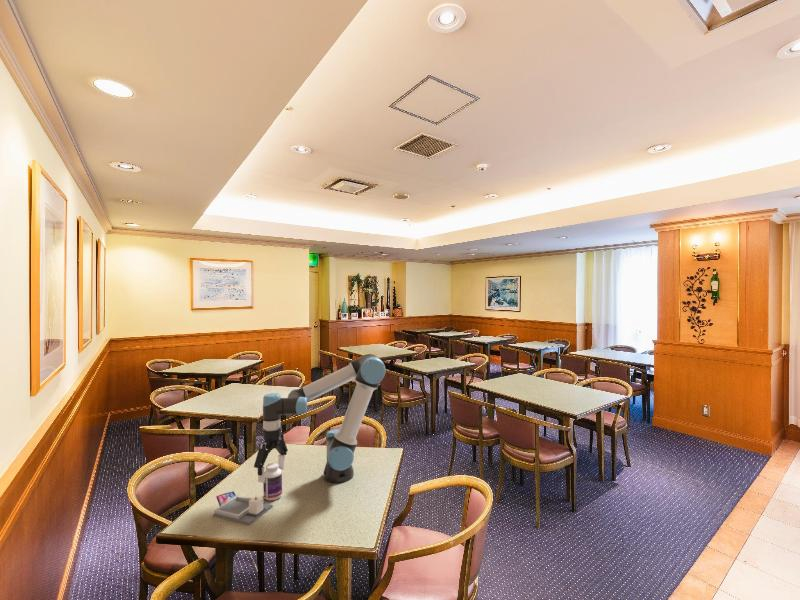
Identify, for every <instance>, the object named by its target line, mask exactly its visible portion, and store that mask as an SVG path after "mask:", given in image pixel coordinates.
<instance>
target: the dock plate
mask: <svg viewBox="0 0 800 600" xmlns="http://www.w3.org/2000/svg"><path fill="white" fill-rule="evenodd" d="M273 507H274V505H273V504H270V503H266V502H264V497H261V496H258V495H256V496H254V497H252V498H251V497H247V496H243V495H236V496H235V497H234V498H232V499H231V500H229V501H228V502H226V503H225V504H223V505H221V506H220V505H219V506H218V507H217V508H216V509H214V510H213V514H212V516H213V517H215V518H218V519H223V520H227V521H230V522H235V523H238V524H239V523H240V524H243V525H247V526H250V525H252V524H253V523H254V522H256V521H257V520H258V519H260V518H261V517H262V516H263V515H264V514H266V513H267V512H268V511H270V510H271V509H273Z"/></svg>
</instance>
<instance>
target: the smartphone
mask: <svg viewBox="0 0 800 600" xmlns="http://www.w3.org/2000/svg"><path fill="white" fill-rule="evenodd" d="M235 496H237V495H236V493H235V491H228V492H225V493H221V494H218V495H216V500H217V502H218V505H219V507H220V506H221V505H223V504H225V503H226V502H228V501H229V500H231V499H232V498H234V497H235Z"/></svg>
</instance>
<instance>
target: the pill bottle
mask: <svg viewBox="0 0 800 600" xmlns="http://www.w3.org/2000/svg"><path fill="white" fill-rule="evenodd" d="M282 474H283V472H282V469H279V465H278V462H277V463H276V462H272V463H268V464H266V465H265V470H264V482H263V487H262V488H263V500H266V501H276V500H278V499H280V498H281V497H282V495H283V477H282V476H283V475H282Z"/></svg>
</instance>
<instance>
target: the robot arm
mask: <svg viewBox="0 0 800 600" xmlns="http://www.w3.org/2000/svg"><path fill="white" fill-rule="evenodd" d="M386 370H387V369H386V365H385V363H384V362H383V360H382V359H380V358H379V357H378V356H377V355H376V354H372V353H367V354H364V355H362V356H360V357H358V358H356V359H354V360H353V361H350V362H349V364H348V365H346V366H344V367H342V368H340V369H338V370H336V371H334V372H333V371H332V373H329V374H327V375H326V376H323V377H321V378H319V379H317V380H315V381H313V382H310V383H308V384H307V385H304V386H302V387H300V388H296V389H293V390H291V391H290V392H289V393H288V396H287V397H281V394H280V393H277V392H271V393H267V394H265V395H264V396H263V397H262V399H263V400H262V401H263V402H262V428H263V430H262V438H263V439H264V441H263V443H259V445H258V451H257V454H256V457H255V461H254V463H253V468H256V469H257V480H258V481H257V482H259V483H261V484H262V483H263V482H264V472H265V463H266V461H267V458H268V456H269V454H270V453H271V452H272V451H273V450H274V449H275V450H276V451H277V452H278V456H277V457H278V460H277V464H278V465H279V469H281V471H282V470H283V471H284V470H285V457H286V455H287V454H288V451H289V450H288V447H287V444H286V441H285V439H284V435H283V434H281V416H286V415H302V414H303V415H304V414H306V413H307V412H308V402H310V401H312V400H314V399H316V398H317V397H320V396H322V395H324V394H327V393H328V392H331V391H332V390H334V389H337V388H339V387H341V386H344V385H345V384H347V383H349V382H351V381H353V380H354V381H355V383H356V386H355V388H354V390H353V393H352V396H351V398H350V401H349V404H348V406H347V410H346V412H345V415H344V418H343V420H342V423H341V425H340V428H337V429H336V428H335V429H331V430H328V431H327V432H326V436H325V438H326V441H325V442H326V463H325V467H324V470H323V474H322V475H323V476H322V477H323V480H324V481H325V482H329V483H333V484H336V483H337V484H339V483H344V482H347V481H349V480H351V479H352V478H354V474H355V473H354V472H355V471H354V467H353V462H354V458H355V455H354V453H355V451H356V448H357V446H358V441H357V437H358V433H359V432H360V431H359V430H360V427H361V425H362V422H363V420H364V418H365V415H366V411H367V409H368V406H369V403H370V401H371V398H372V396H373V392H374V391H375V390H377V389H378V388H379V385H380V382H381V381H382V380H384V377H385V375H386Z"/></svg>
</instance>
